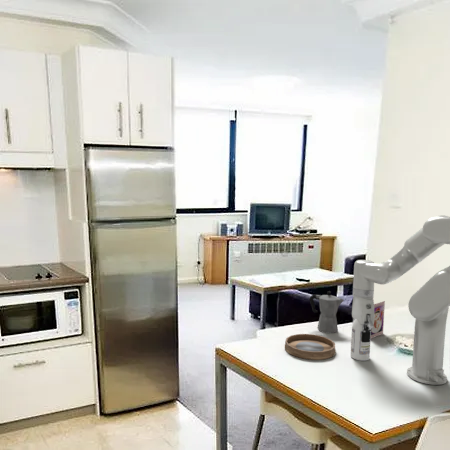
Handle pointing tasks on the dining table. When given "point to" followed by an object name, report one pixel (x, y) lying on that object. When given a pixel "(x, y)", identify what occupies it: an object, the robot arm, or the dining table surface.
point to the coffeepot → (327, 312)
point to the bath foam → (359, 343)
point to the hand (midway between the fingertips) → (360, 337)
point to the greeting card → (378, 319)
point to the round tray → (310, 346)
